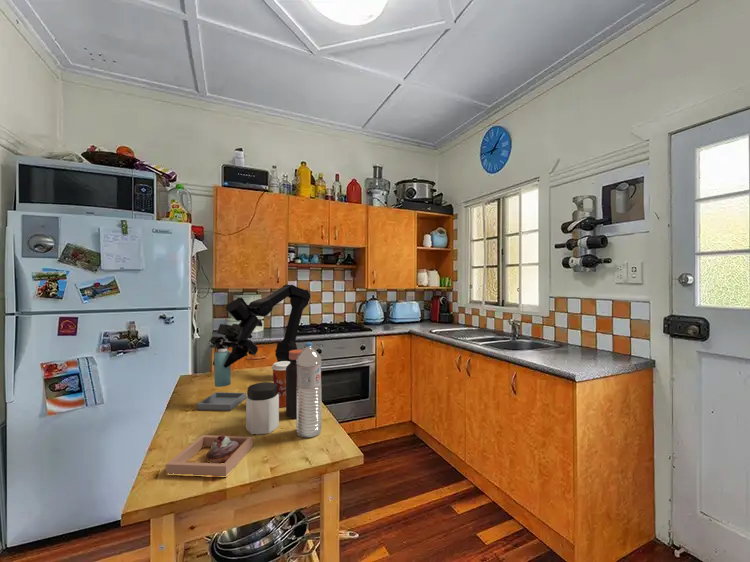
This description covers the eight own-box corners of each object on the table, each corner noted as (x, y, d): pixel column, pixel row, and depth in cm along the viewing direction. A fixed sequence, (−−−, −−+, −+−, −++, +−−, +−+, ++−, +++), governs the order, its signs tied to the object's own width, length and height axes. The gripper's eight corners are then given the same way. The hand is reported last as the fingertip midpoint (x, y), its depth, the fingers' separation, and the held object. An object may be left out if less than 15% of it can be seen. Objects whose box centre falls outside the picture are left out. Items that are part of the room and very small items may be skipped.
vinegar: (285, 411, 106) (285, 349, 106) (306, 409, 108) (306, 348, 108) (286, 420, 100) (286, 354, 100) (309, 417, 102) (309, 352, 102)
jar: (261, 419, 100) (261, 380, 100) (284, 423, 97) (283, 383, 97) (239, 432, 92) (239, 389, 92) (264, 437, 89) (263, 393, 89)
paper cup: (275, 410, 107) (275, 367, 107) (269, 403, 114) (269, 362, 114) (298, 405, 111) (298, 364, 111) (291, 398, 118) (291, 359, 118)
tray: (246, 398, 118) (246, 392, 118) (230, 410, 107) (230, 404, 107) (215, 397, 119) (215, 392, 119) (197, 410, 108) (197, 404, 108)
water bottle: (310, 441, 87) (310, 346, 87) (291, 435, 90) (290, 343, 90) (326, 430, 93) (326, 342, 93) (307, 425, 96) (307, 339, 96)
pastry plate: (253, 446, 84) (253, 436, 84) (226, 478, 71) (226, 466, 71) (202, 444, 85) (202, 435, 85) (166, 475, 72) (166, 464, 72)
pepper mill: (230, 381, 116) (230, 347, 116) (230, 385, 112) (230, 350, 112) (215, 383, 114) (214, 348, 114) (214, 387, 110) (213, 351, 110)
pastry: (210, 450, 83) (210, 430, 83) (242, 446, 85) (242, 427, 85) (202, 468, 75) (202, 446, 75) (238, 463, 77) (238, 442, 77)
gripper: (214, 313, 120) (185, 350, 111) (251, 316, 112) (223, 355, 102) (232, 332, 128) (206, 367, 118) (268, 335, 119) (244, 374, 109)
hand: (219, 366), depth 112 cm, fingers closed on pepper mill, 5 cm apart
